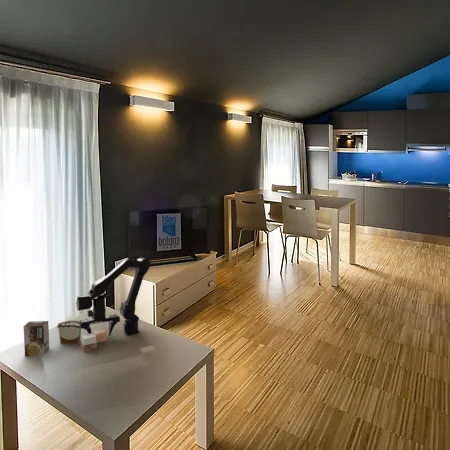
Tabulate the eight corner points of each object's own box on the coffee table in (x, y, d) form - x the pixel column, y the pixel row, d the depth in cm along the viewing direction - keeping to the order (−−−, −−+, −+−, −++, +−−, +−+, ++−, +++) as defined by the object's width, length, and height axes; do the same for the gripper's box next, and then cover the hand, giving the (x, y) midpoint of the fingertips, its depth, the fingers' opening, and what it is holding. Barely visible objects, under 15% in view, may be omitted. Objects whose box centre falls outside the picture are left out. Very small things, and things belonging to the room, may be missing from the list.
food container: (87, 340, 188) (87, 320, 187) (81, 344, 182) (80, 324, 181) (64, 339, 189) (63, 319, 188) (57, 343, 183) (56, 323, 182)
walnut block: (94, 345, 181) (93, 338, 181) (97, 350, 176) (96, 342, 176) (81, 348, 178) (80, 341, 178) (83, 352, 173) (83, 345, 172)
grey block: (93, 339, 180) (93, 333, 180) (96, 342, 176) (95, 336, 175) (81, 341, 177) (81, 335, 177) (83, 345, 173) (83, 338, 172)
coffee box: (50, 353, 178) (49, 320, 177) (45, 359, 172) (43, 325, 171) (30, 354, 177) (29, 321, 176) (24, 360, 171) (23, 325, 170)
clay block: (104, 338, 191) (103, 329, 190) (106, 341, 186) (106, 332, 186) (93, 340, 188) (93, 331, 188) (96, 343, 184) (95, 334, 184)
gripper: (113, 300, 198) (114, 329, 199) (76, 306, 188) (77, 336, 189) (119, 305, 188) (120, 336, 189) (80, 312, 179) (82, 343, 180)
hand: (100, 337), depth 187 cm, fingers open, 8 cm apart
